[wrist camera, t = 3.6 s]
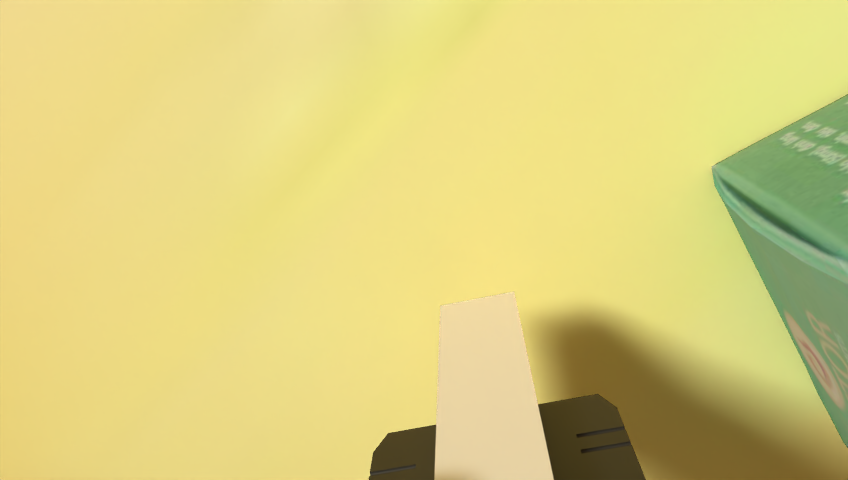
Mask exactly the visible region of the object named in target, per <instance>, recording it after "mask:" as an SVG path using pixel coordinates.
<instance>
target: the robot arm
mask: <svg viewBox="0 0 848 480" xmlns="http://www.w3.org/2000/svg"><path fill="white" fill-rule="evenodd" d="M370 475H371V476H369V480H646V479H645V477H644V474H643V472H642V469H641V467H640V464H639V462H638V459H637V457H636V454H635V452H634V450H633V447H632V445H631V443H630V440H629V437H628V435H627V432H626V430H625V428H624V425H623V422H622V420H621V417H620V415H619V412H618V410H617V407H615V406H614V405H612V404H611V403H610V402H608V401H607V400H605V399H604V398H603V397H601V396H600V395H598V394H595V395H589V396H583V397H578V398H572V399H566V400H561V401H555V402H549V403H544V404H538V403H537V398H536V393H535V388H534V384H533V379H532V374H531V369H530V365H529V360H528V355H527V351H526V346H525V341H524V336H523V332H522V327H521V322H520V317H519V313H518V308H517V303H516V299H515V294H514V292H509V293H504V294H499V295H494V296H488V297H483V298H478V299H473V300H467V301H462V302H457V303H452V304H446V305H441V306H440V331H439V360H438V389H437V418H436V425H432V426H426V427H421V428H415V429H409V430H404V431H398V432H392V433H388V434H387V436H386V437H385V438H384V439H383V441H382V442H381V443H380V445H379V446H378V447H377V448H376V450H375V451H374V452H373V457H372V463H371V469H370Z"/></svg>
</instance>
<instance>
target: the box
mask: <svg viewBox="0 0 848 480" xmlns="http://www.w3.org/2000/svg"><path fill="white" fill-rule="evenodd" d="M712 171H713V177H714V184H715V187H716V189H717V191H718V193H719V195H720V196H721V198H722V200H723V202H724V204H725V206H726V208H727V210H728V212H729V214H730V216H731V218H732V220H733V222H734V224H735V226H736V228H737V230H738V232H739V234H740V236H741V238H742V240H743V242H744V244H745V246H746V248H747V250H748V252H749V254H750V256H751V258H752V260H753V262H754V264H755V266H756V268H757V270H758V272H759V274H760V276H761V278H762V280H763V282H764V284H765V286H766V288H767V290H768V292H769V294H770V296H771V298H772V300H773V302H774V304H775V306H776V308H777V310H778V312H779V314H780V316H781V318H782V320H783V322H784V324H785V326H786V328H787V330H788V332H789V334H790V336H791V338H792V340H793V342H794V344H795V346H796V348H797V350H798V352H799V354H800V356H801V358H802V360H803V362H804V364H805V366H806V368H807V370H808V373H809V375H810V377H811V379H812V382H813V384H814V386H815V388H816V390H817V393H818V395H819V396H820V398H821V400H822V402H823V404H824V406H825V408H826V410H827V411H828V413H829V415H830V417H831V419H832V421H833V423H834V425H835V427H836V429H837V431H838V433H839V435H840V436H841V438H842V440H843V442H844V444H845V445H846V446H847V448H848V94H847V95H846V96H844V97H842V98H840V99H838V100H836V101H835V102H833V103H831V104H829V105H827V106H825V107H823V108H821V109H819V110H818V111H816V112H814V113H812V114H810V115H808V116H806V117H804V118H802V119H800V120H798V121H796V122H795V123H793V124H791V125H789V126H787V127H785V128H783V129H781V130H779V131H777V132H775V133H773V134H772V135H770V136H768V137H766V138H764V139H762V140H760V141H758V142H756V143H754V144H753V145H751V146H749V147H747V148H745V149H743V150H741V151H739V152H737V153H736V154H734V155H732V156H730V157H728V158H726V159H725V160H723V161H721V162H719V163H717V164H716V165H714V166H712Z"/></svg>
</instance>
